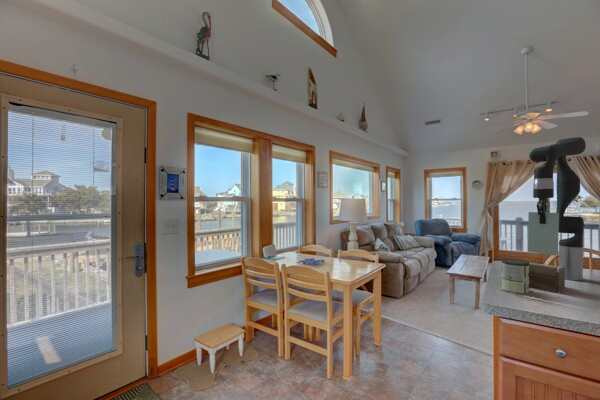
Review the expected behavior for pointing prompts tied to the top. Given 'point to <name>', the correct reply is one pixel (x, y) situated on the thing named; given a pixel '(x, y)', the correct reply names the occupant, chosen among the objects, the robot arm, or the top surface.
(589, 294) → the top surface
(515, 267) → the coffee can
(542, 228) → the tall sheet
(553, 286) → the rack
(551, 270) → the offcut front
